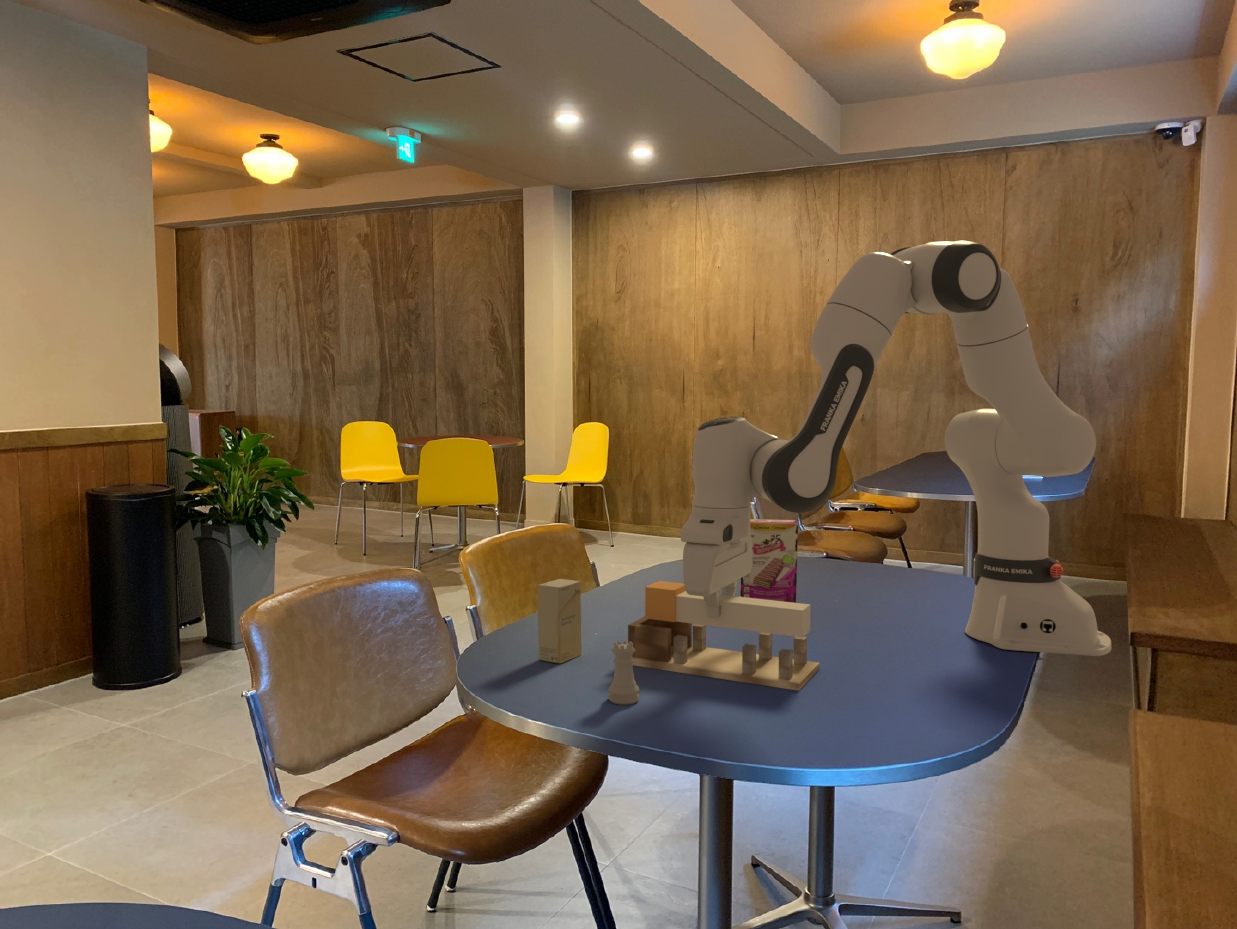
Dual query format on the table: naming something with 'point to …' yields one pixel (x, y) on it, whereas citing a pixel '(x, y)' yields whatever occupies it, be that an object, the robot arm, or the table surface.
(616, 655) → the rook chess piece
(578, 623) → the skincare box
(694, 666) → the rail
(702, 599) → the orange tipped beige bar
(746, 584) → the candy bar box
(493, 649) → the table surface
